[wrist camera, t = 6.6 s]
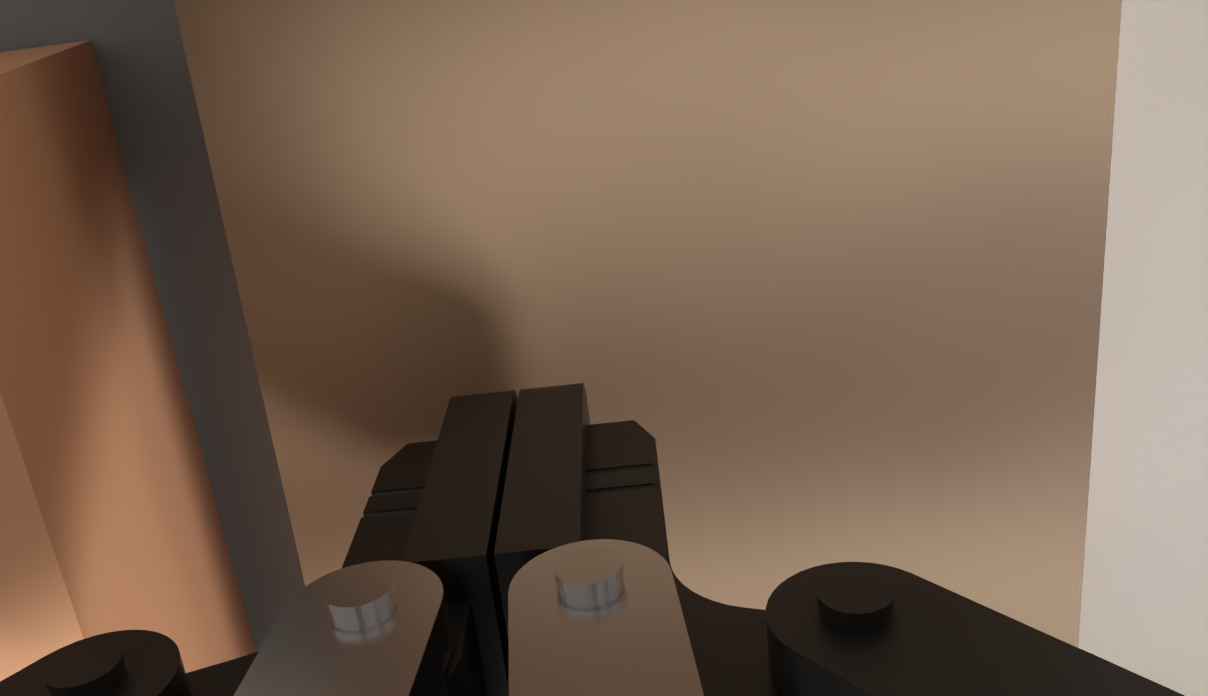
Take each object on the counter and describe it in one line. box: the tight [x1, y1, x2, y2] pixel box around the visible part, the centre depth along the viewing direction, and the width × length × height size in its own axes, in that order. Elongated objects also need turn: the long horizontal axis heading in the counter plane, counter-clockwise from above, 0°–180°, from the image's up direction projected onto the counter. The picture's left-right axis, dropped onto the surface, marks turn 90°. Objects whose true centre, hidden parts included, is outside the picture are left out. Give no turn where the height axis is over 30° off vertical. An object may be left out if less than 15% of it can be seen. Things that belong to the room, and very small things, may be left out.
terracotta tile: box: [0, 40, 256, 681], centre depth 14 cm, size 10×7×2 cm
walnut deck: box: [173, 0, 1122, 648], centre depth 15 cm, size 24×10×4 cm, turn 6°
